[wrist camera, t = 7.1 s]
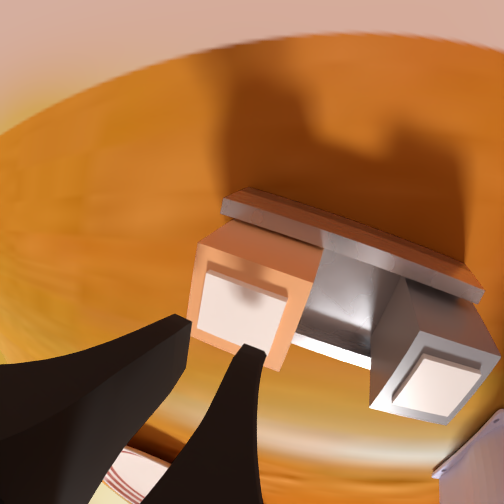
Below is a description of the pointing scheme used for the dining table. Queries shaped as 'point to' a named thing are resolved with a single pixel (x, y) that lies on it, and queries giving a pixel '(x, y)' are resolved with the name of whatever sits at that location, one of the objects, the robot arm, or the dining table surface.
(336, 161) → the dining table surface
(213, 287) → the block
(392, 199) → the dining table surface
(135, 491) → the dinner plate
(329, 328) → the rail
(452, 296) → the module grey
